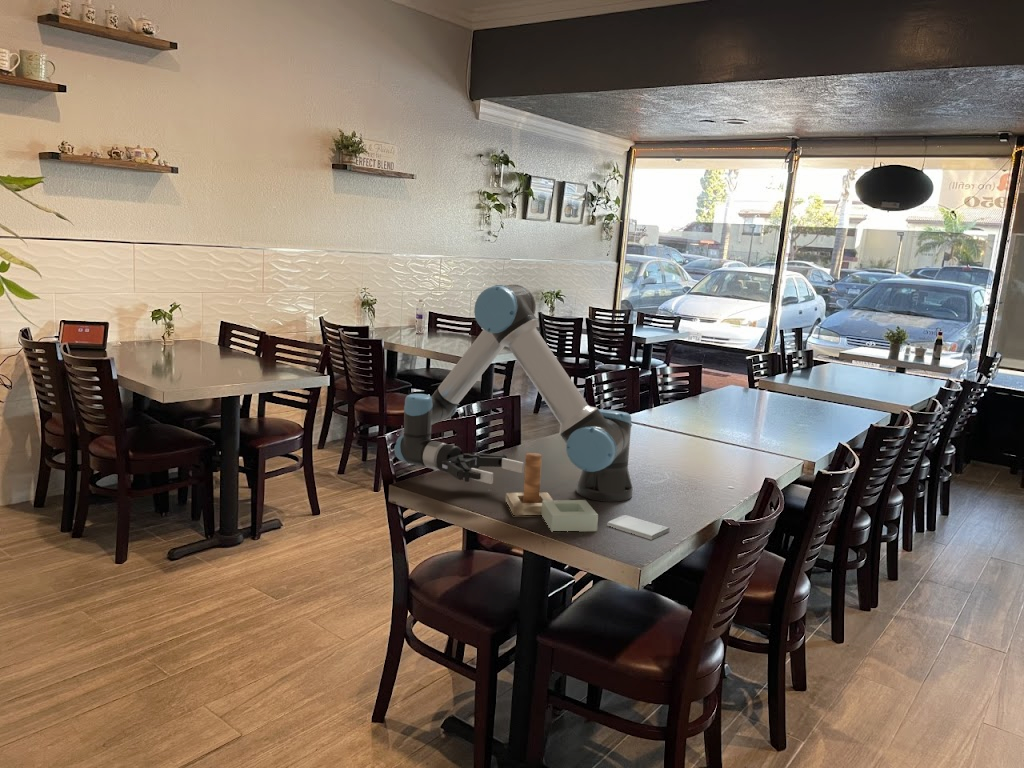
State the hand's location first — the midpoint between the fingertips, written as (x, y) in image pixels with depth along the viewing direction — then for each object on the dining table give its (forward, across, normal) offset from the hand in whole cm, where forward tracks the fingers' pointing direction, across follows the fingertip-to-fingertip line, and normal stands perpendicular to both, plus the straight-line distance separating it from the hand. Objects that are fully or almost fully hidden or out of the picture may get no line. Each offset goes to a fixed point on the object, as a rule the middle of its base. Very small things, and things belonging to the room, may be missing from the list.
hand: (508, 473), depth 200 cm
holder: (+7, 0, -8) cm, 11 cm away
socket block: (+20, +3, -8) cm, 22 cm away
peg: (+7, 0, -8) cm, 11 cm away
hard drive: (+34, -6, -9) cm, 36 cm away
